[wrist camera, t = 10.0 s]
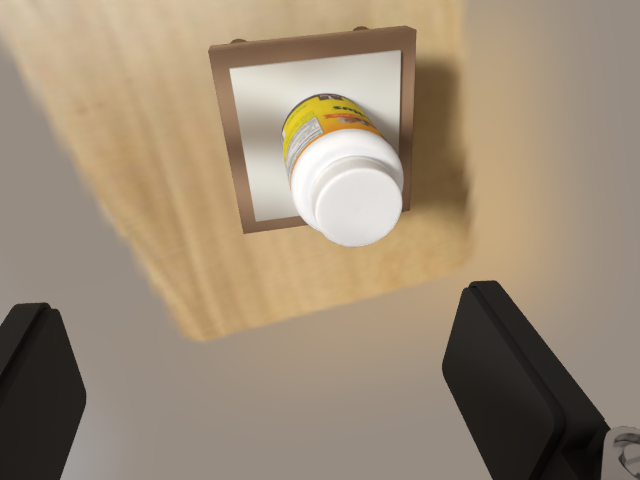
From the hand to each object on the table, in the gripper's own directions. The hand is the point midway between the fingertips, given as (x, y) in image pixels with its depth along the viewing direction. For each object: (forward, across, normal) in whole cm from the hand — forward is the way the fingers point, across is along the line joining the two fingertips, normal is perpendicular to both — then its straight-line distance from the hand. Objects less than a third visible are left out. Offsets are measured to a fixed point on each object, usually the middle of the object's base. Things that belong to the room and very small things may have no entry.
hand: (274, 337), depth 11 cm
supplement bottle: (+19, -4, +2) cm, 20 cm away
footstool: (+28, -4, +2) cm, 28 cm away
